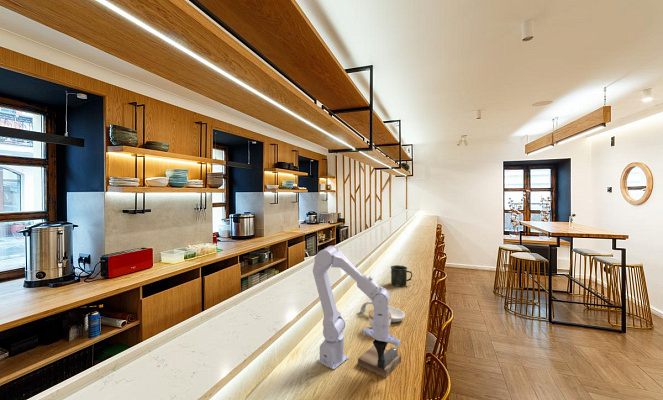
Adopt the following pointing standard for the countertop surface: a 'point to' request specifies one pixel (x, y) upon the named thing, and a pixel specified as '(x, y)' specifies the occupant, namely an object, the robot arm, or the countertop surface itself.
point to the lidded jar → (372, 318)
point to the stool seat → (371, 362)
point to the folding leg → (387, 358)
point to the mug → (399, 275)
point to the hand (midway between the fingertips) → (381, 358)
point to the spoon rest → (395, 313)
